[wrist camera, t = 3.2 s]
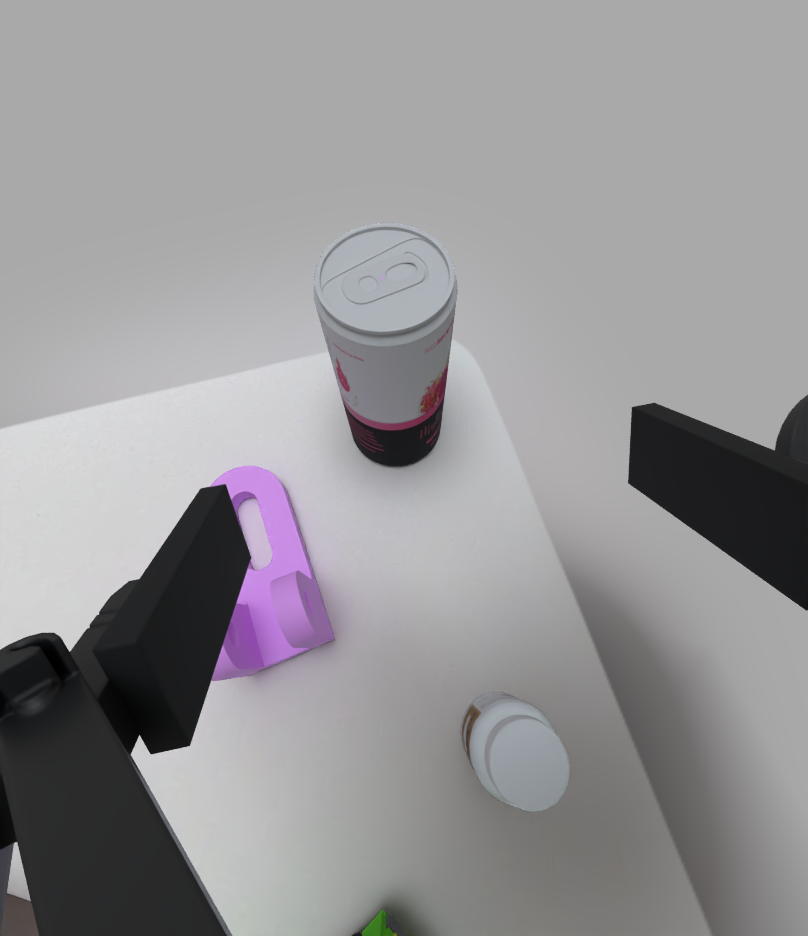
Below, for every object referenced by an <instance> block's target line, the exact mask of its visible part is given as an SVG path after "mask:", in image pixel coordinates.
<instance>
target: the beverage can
mask: <svg viewBox="0 0 808 936" xmlns="http://www.w3.org/2000/svg"><path fill="white" fill-rule="evenodd" d="M314 282H315V284H314V300H315V304H316V308H317V312H318V315H319V319H320V322H321V326H322V329H323V333H324V336H325V340H326V343H327V347H328V351H329V354H330V358H331V361H332V365H333V368H334V372H335V375H336V379H337V382H338V386H339V390H340V393H341V397H342V400H343V404H344V407H345V411H346V414H347V418H348V421H349V425H350V428H351V432H352V436H353V439H354V441H355V443H356V445H357V447H358V448H359V450H360V451H361V452H362V453H363V454H364V455H365V456H366V457H368V458H369V459H371V460H373V461H375V462H377V463H379V464H383V465H387V466H403V465H408V464H411V463H414V462H416V461H418V460H420V459H422V458H423V457H424V456H426V455H427V454H428V453H429V452H430V451H431V450H432V448H433V447H434V446H435V444H436V442H437V440H438V437H439V434H440V428H441V420H442V411H443V403H444V395H445V387H446V379H447V371H448V363H449V355H450V347H451V339H452V330H453V323H454V315H455V307H456V298H457V280H456V276H455V270H454V265H453V262H452V259H451V257H450V255H449V253H448V252H447V250H446V249H445V248H444V246H443V245H442V244H441V243H440V242H439V241H437V240H436V239H435V238H434V237H432V236H431V235H429V234H428V233H426V232H424V231H422V230H419V229H417V228H414V227H411V226H407V225H402V224H395V223H379V224H371V225H367V226H363V227H359V228H356V229H354V230H351V231H349V232H347V233H345V234H344V235H342V236H340V237H339V238H338V239H336V240H335V241H334V242H332V243H331V244H330V245H329V246H328V248H327V249H326V250H325V251H324V252H323V254H322V255H321V257H320V259H319V261H318V263H317V266H316V270H315V276H314Z"/></svg>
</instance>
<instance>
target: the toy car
mask: <svg viewBox="0 0 808 936" xmlns="http://www.w3.org/2000/svg"><path fill="white" fill-rule="evenodd" d="M352 936H406V935H405V934H404V932H403V931H402V930H401V928H400V927H399V925H398V924H397V923H396V921H395V920H394V918H393V917H392V916H391V914H390V913H389V914H388V915H387V914H386V913H385V911H384V910H383V909H382V910H381V911H380V912H379V914H378V915H377V916H376V917H375V918H374V919H373V920H372V921H371V922H370V924H369V925H368V926H367V927H366V928H365V929H364V930H363V931H362V934H361V933H360V932H358V933H356V934H354V935H352Z"/></svg>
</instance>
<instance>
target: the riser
mask: <svg viewBox="0 0 808 936" xmlns="http://www.w3.org/2000/svg"><path fill="white" fill-rule="evenodd" d="M0 936H39V933H38V929H37V925H36V920H35V916H34V912H33V907H32V903H31V902H28V901H25V900H22V899H20V898H17V897H14V896H11V895H8V894H6V900H5V907H4V914H3V921H2V928H1V935H0Z"/></svg>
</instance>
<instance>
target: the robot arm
mask: <svg viewBox="0 0 808 936" xmlns="http://www.w3.org/2000/svg"><path fill="white" fill-rule="evenodd" d="M630 438H631V439H630V457H629V458H630V459H629V480H628V483H629V484H630V485H632V486H633V487H634V488H636V489H637V490H639V491H640V492H641V493H643V494H644V495H646V496H647V497H649V498H650V499H651V500H653V501H654V502H655V503H657V504H658V505H660V506H661V507H662V508H664V509H665V510H666V511H668V512H670V513H671V514H672V515H674V516H675V517H676V518H678V519H679V520H681V521H682V522H683V523H685V524H686V525H687V526H689V527H690V528H692V529H693V530H695V531H696V532H697V533H699V534H700V535H702V536H703V537H704V538H706V539H707V540H709V541H710V542H711V543H713V544H714V545H715V546H717V547H718V548H720V549H721V550H722V551H724V552H725V553H727V554H728V555H729V556H731V557H732V558H734V559H735V560H736V561H738V562H739V563H741V564H742V565H743V566H745V567H746V568H748V569H749V570H750V571H752V572H753V573H755V574H756V575H758V576H759V577H760V578H762V579H763V580H764V581H766V582H767V583H769V584H770V585H772V586H773V587H774V588H776V589H777V590H779V591H780V592H781V593H783V594H784V595H785V596H787V597H788V598H790V599H791V600H792V601H794V602H795V603H797V604H798V605H799V606H801V607H802V608H804V609H805V610H808V463H807V462H804V461H802V460H799V459H796V458H792V457H789V456H787V455H784V454H782V453H779V452H777V451H774V450H771V449H769V448H767V447H764V446H761V445H759V444H757V443H754V442H752V441H749V440H746V439H744V438H741V437H739V436H736V435H734V434H731V433H729V432H726V431H724V430H721V429H719V428H716V427H713V426H711V425H709V424H706V423H704V422H701V421H699V420H696V419H694V418H691V417H689V416H686V415H683V414H681V413H679V412H676V411H673V410H671V409H669V408H666V407H663V406H661V405H658V404H656V403H651V404H646V405H641V406H636V407H632V418H631V437H630ZM250 560H251V556H250V553H249V550H248V547H247V544H246V541H245V538H244V536H243V533H242V530H241V527H240V524H239V521H238V518H237V515H236V512H235V509H234V506H233V504H232V501H231V498H230V495H229V492H228V489H227V486H226V484H222V485H217V486H212V487H207V488H201V489H200V490H199V492H198V493H197V495H196V496H195V498H194V499H193V501H192V502H191V504H190V505H189V507H188V508H187V510H186V511H185V513H184V514H183V516H182V517H181V519H180V520H179V522H178V523H177V525H176V526H175V528H174V529H173V530H172V532H171V533H170V535H169V536H168V538H167V539H166V541H165V542H164V544H163V545H162V547H161V548H160V550H159V551H158V553H157V554H156V556H155V557H154V559H153V560H152V562H151V563H150V565H149V566H148V568H147V569H146V570H145V572H144V573H143V575H142V576H141V578H140V579H138V580H133V581H129V582H128V583H126V584H125V585H124V586H123V587H121V588H120V589H119V590H118V591H117V592H115V593H114V594H113V595H112V596H111V597H110V598H109V599H108V601H107V602H106V603H105V605H104V606H103V608H102V609H101V610H100V612H99V615H97V616H96V617H95V619H94V620H93V621H92V623H91V624H90V628H88V629H87V630H86V631H85V632H84V634H83V635H82V636H81V638H80V639H79V640H78V642H77V643H76V645H75V646H74V647H73V649H72V650H71V651H70V652H69V651H68V649H67V647H66V646H65V644H64V642H63V640H62V639H61V637H60V636H58V635H57V634H55V633H40V634H36V635H32V636H28V637H25V638H23V639H21V640H18V641H16V642H14V643H12V644H9V645H8V646H6V647H4V648H3V649H1V650H0V935H1V928H2V921H3V914H4V907H5V900H6V893H7V886H8V880H9V873H10V866H11V859H12V852H13V845H14V843H15V842H18V847H19V851H20V855H21V860H22V864H23V868H24V873H25V877H26V881H27V886H28V890H29V894H30V899H31V903H32V907H33V912H34V916H35V920H36V925H37V929H38V933H39V936H232V934H231V932H230V931H229V929H228V927H227V925H226V923H225V922H224V920H223V918H222V916H221V915H220V913H219V911H218V909H217V907H216V906H215V904H214V902H213V900H212V899H211V897H210V895H209V893H208V891H207V890H206V888H205V886H204V884H203V883H202V881H201V879H200V877H199V875H198V874H197V872H196V870H195V868H194V867H193V865H192V863H191V861H190V859H189V858H188V856H187V854H186V852H185V851H184V849H183V847H182V845H181V843H180V842H179V840H178V838H177V836H176V835H175V833H174V831H173V829H172V827H171V826H170V824H169V822H168V820H167V819H166V817H165V815H164V813H163V811H162V810H161V808H160V806H159V804H158V802H157V801H156V799H155V797H154V795H153V794H152V792H151V790H150V788H149V786H148V785H147V783H146V781H145V779H144V778H143V776H142V774H141V772H140V770H139V769H138V767H137V765H136V763H135V762H134V760H133V758H132V757H131V752H132V750H133V748H134V746H135V743H136V741H137V739H138V737H139V735H140V736H141V738H142V740H143V742H144V743H145V745H146V747H147V749H148V750H149V752H150V754H155V753H160V752H164V751H169V750H173V749H178V748H182V747H187V746H190V744H191V741H192V738H193V734H194V731H195V728H196V725H197V722H198V719H199V716H200V713H201V710H202V707H203V704H204V701H205V698H206V695H207V692H208V689H209V686H210V682H211V679H212V676H213V673H214V670H215V667H216V664H217V661H218V658H219V655H220V652H221V649H222V646H223V643H224V640H225V637H226V633H227V630H228V627H229V624H230V621H231V618H232V615H233V612H234V609H235V606H236V603H237V600H238V597H239V594H240V591H241V588H242V584H243V581H244V578H245V575H246V572H247V569H248V566H249V563H250Z"/></svg>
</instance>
